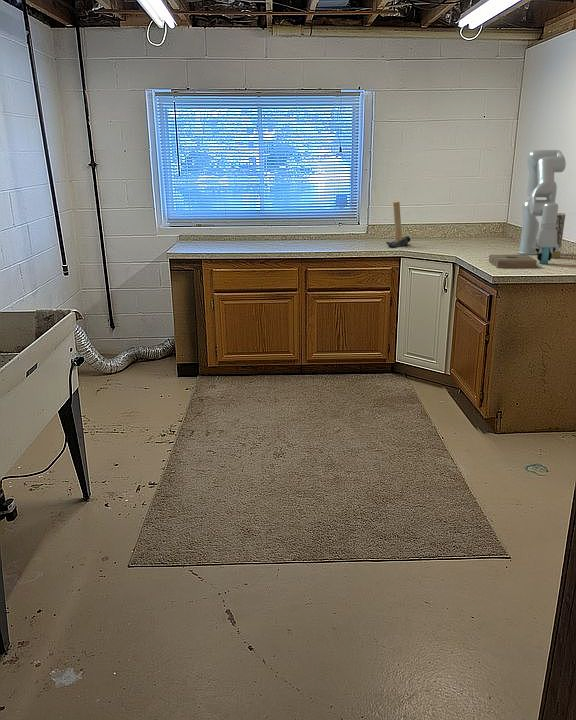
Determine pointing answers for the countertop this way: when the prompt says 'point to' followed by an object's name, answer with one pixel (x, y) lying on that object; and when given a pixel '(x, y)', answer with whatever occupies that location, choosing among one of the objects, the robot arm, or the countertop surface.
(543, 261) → the dowel peg
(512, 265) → the socket block
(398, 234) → the hammer
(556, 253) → the bark patterned cylinder
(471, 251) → the countertop surface
